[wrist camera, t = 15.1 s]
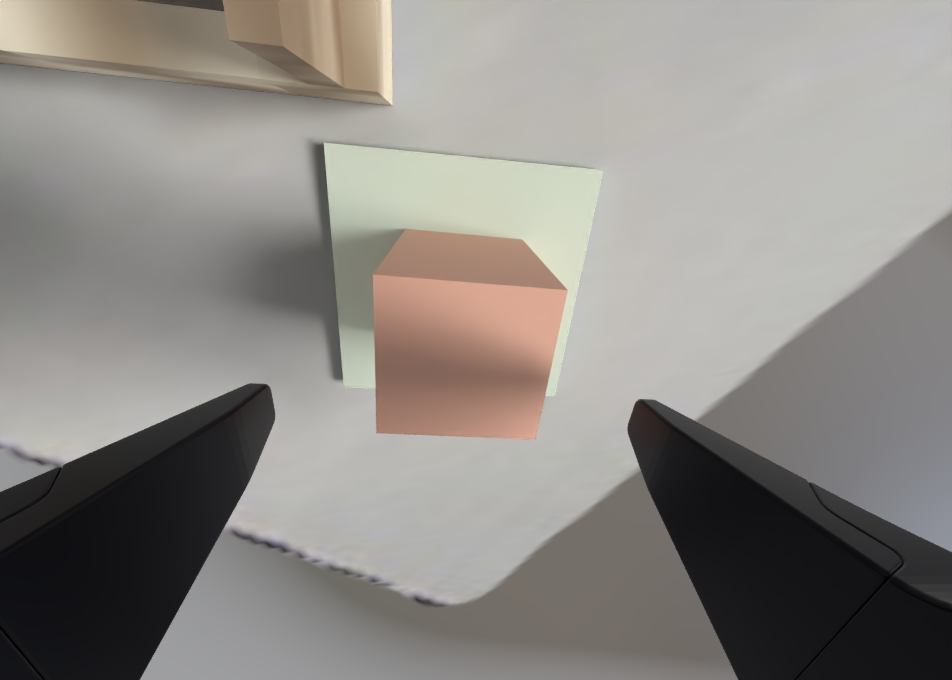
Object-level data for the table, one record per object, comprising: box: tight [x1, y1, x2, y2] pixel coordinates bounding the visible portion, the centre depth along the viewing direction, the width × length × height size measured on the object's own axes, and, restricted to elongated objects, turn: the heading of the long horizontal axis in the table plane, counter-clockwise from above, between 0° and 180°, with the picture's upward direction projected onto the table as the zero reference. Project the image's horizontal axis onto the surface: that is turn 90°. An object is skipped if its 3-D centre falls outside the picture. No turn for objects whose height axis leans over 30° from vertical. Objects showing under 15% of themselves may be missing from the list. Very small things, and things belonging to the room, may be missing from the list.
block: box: [373, 229, 568, 440], centre depth 14 cm, size 5×5×7 cm
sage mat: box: [324, 143, 604, 396], centre depth 17 cm, size 11×11×1 cm
